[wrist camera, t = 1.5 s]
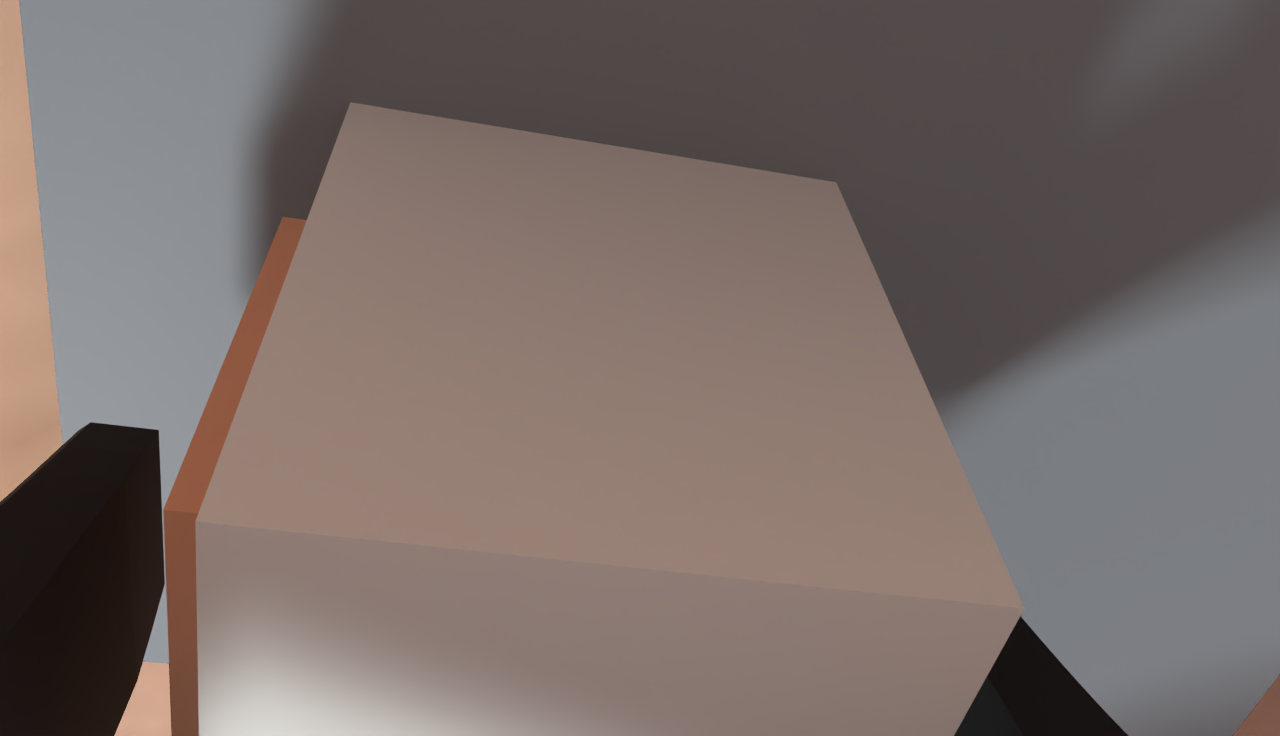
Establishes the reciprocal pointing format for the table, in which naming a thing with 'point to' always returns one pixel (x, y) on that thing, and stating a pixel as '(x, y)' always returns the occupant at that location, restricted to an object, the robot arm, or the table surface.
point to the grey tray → (802, 146)
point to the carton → (572, 463)
